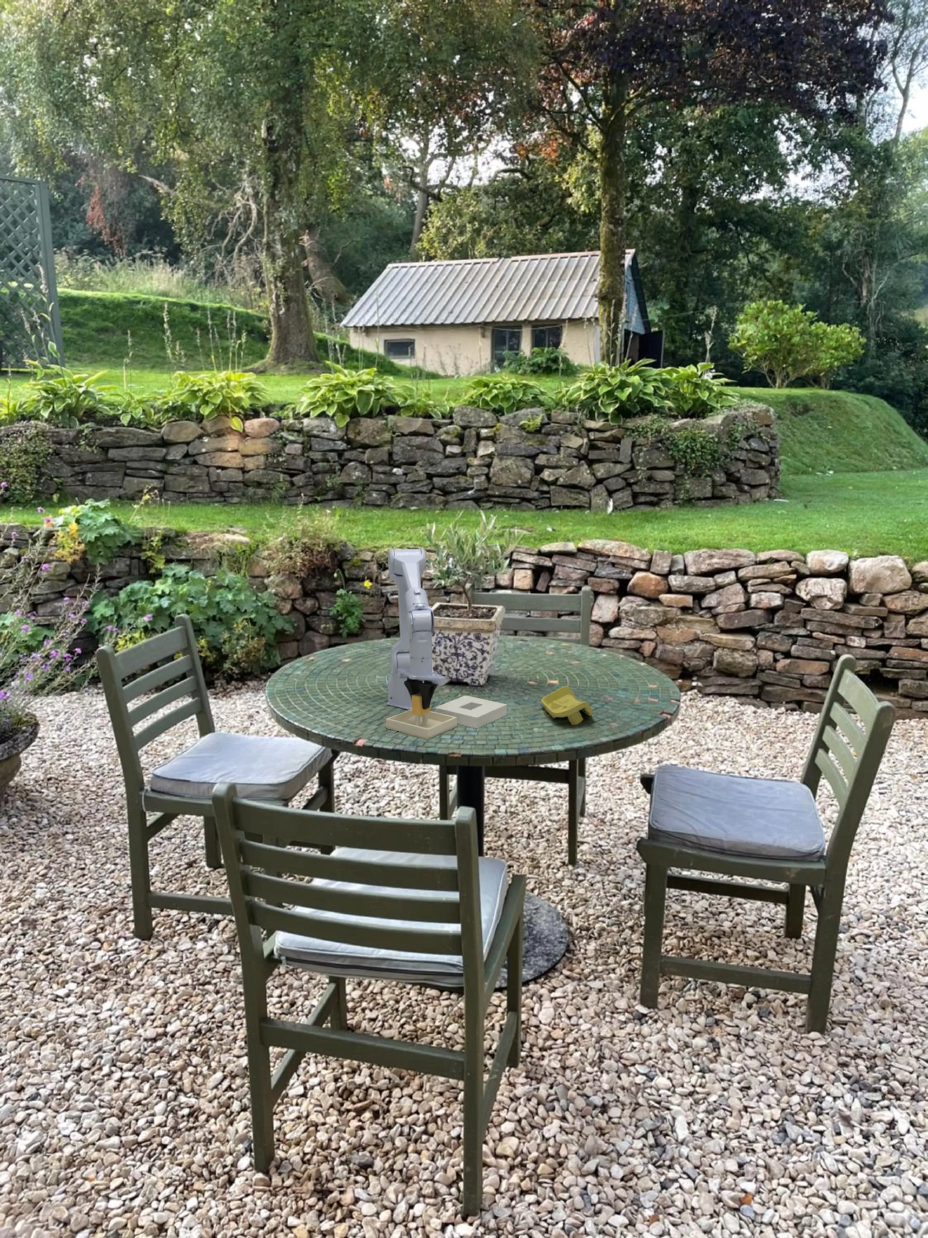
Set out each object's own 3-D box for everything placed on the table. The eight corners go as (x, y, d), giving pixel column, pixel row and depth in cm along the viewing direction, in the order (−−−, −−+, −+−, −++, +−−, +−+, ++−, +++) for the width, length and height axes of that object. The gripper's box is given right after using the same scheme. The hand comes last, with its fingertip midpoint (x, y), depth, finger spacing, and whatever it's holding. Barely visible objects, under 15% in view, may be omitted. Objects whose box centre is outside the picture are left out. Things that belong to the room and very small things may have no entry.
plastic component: (539, 699, 232) (570, 682, 232) (550, 722, 233) (581, 705, 233) (556, 716, 212) (590, 698, 213) (568, 741, 213) (602, 723, 214)
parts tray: (385, 728, 214) (385, 718, 213) (415, 716, 223) (415, 707, 223) (428, 739, 206) (427, 729, 205) (456, 726, 215) (456, 717, 215)
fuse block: (434, 718, 222) (434, 707, 221) (465, 705, 233) (465, 695, 232) (477, 728, 214) (477, 717, 213) (506, 715, 225) (507, 704, 224)
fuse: (412, 725, 213) (411, 694, 212) (422, 720, 217) (422, 690, 215) (419, 727, 212) (419, 696, 210) (430, 722, 215) (430, 692, 213)
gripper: (389, 655, 212) (389, 706, 214) (433, 663, 203) (433, 716, 206) (406, 650, 217) (407, 699, 220) (450, 658, 209) (450, 709, 211)
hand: (421, 707), depth 213 cm, fingers closed on fuse, 3 cm apart
